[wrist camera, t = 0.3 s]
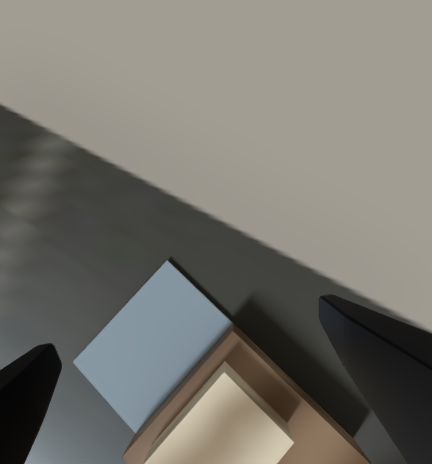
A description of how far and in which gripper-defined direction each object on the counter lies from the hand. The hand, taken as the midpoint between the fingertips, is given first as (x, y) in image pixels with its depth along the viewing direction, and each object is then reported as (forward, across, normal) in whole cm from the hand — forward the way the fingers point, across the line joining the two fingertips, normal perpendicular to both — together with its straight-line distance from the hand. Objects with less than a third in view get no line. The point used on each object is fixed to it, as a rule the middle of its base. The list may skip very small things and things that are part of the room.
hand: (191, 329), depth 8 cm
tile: (+6, 0, +14) cm, 15 cm away
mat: (+11, +5, +10) cm, 16 cm away
